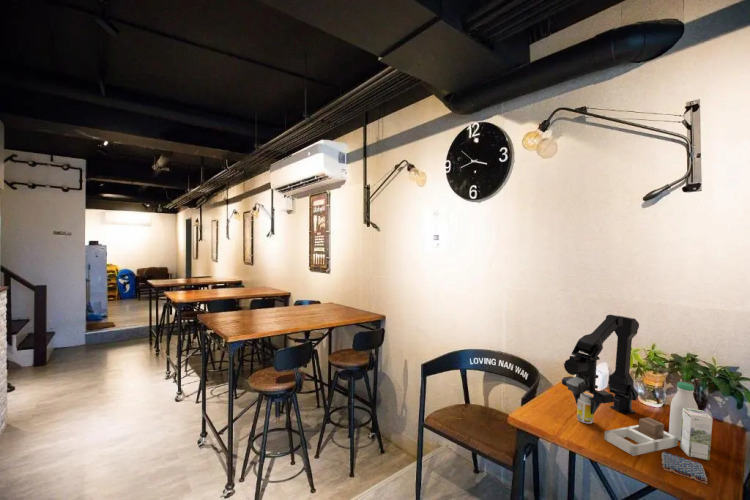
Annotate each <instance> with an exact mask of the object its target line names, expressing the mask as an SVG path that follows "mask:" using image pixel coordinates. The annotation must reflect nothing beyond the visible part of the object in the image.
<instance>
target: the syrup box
mask: <svg viewBox="0 0 750 500" xmlns="http://www.w3.org/2000/svg"><path fill="white" fill-rule="evenodd" d="M712 431H713V417H712V416H710V415H709V413H707V412H706V411H704V410H700V409H698V410H696V409H689V408H683V412H682V426H681V440H680V441H679V448H680V449H681V450H682V451H683V452H684V454H686V456H687V457H689V458H693V459H694V458H695V459H698V460H703V461H710V459H711V457H710V456H711V447H712V445H711V444H712V433H713V432H712Z"/></svg>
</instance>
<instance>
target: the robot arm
mask: <svg viewBox="0 0 750 500" xmlns="http://www.w3.org/2000/svg"><path fill="white" fill-rule="evenodd" d="M639 328H640V323H639V322H638V320H636V318H632V317H627V316H623V315H615V314H607V315H606V316H605V319H604V320H603V321H602V322H601V323H600V324H599V325H598V326H597V328H595V329H594V330H593V332H591V333H589V334H584V335H583V336H581V337H580V338H579V339H578V341H576V344H575V345H574V348H573V349H572V351H571V355H569V359H566V360H565V362H564V363H563V367H564V370H565V372H566V373H567V374H569V375H571V376H564V377H563V378H562V379H561V385H563V386H565V387H567V390H568V391H571V393H572V394H573V398H574V400H575V404H576V405H577V404H578V398H580V394H581V393H586V392H587V393H588V394H590V395H592V397H591V398H589V399H590V401H591V414H594V415H595V412H596V411H597V410H598V409H599V407H600V405H602V404H608V403H609V404H610V403H613V405H610V407H609V408H611V409H613V410H615V411H617V412H619V413H622V414H624V415H628V414H634V413H635V414H636V411H635V410H633V408H632V406H633V401H637V400H638V397H639V393H638V391H637V389H636V388H635V384H634V379H633V378H632V377H633V376H632V374H630V367H631V354H632V341H633V338H635V337H636V336H637V334H638V332H639V331H638V330H639ZM613 333H615V335H616V337H617V341H616V354H615V355H616V356H615V369H614V371H613V372H612V373H611V374H609V375H608V382H607V384H608V389H609V391H606V390H597V389H598V388H599V385H597V384H596V383H597V382H596V381H597V380H596V379H599V374H597V366H598V365H597V364H598V363H597V361H600V359H601V358H600V357H599V355H600V354H601V352H602V350H603V349H604V346H603V345H604V343H605V342H606V340H608V338H609V337H610V336H611V335H612V334H613ZM574 375H575V377H574Z"/></svg>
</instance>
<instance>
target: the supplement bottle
mask: <svg viewBox="0 0 750 500" xmlns="http://www.w3.org/2000/svg"><path fill="white" fill-rule="evenodd" d="M591 397H593V395H592V394H591V393H588V392H587V393H586V392H583V393H581V394H580V398H578V404H576V406H577V409H576V419H577V420H578V422H581V423H584V424H589V425H590V424H592V423H594V415H595V413H594V414H591V401H590V399H589V398H591Z"/></svg>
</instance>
